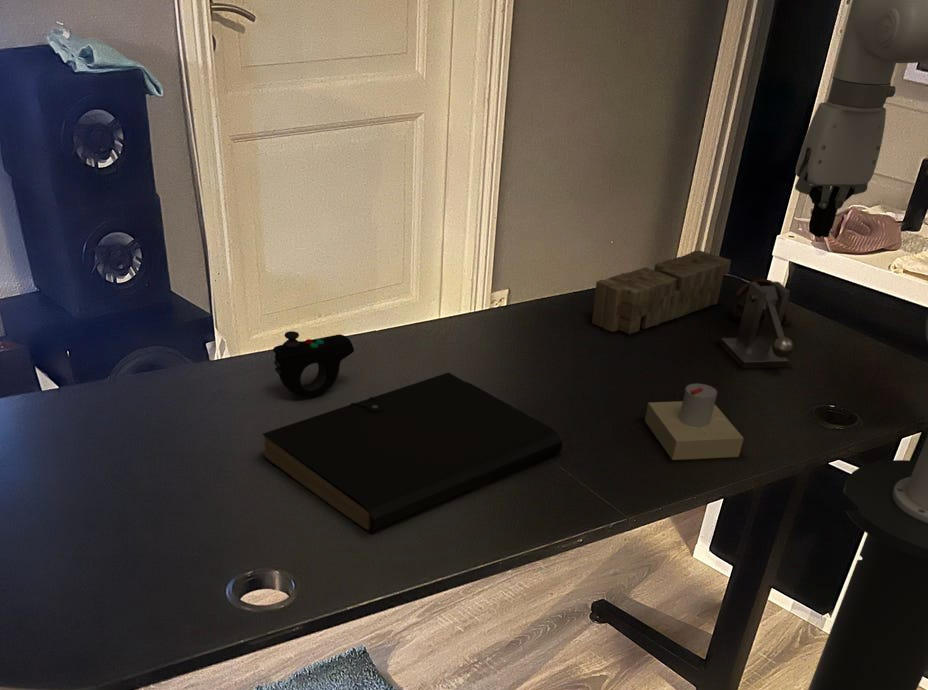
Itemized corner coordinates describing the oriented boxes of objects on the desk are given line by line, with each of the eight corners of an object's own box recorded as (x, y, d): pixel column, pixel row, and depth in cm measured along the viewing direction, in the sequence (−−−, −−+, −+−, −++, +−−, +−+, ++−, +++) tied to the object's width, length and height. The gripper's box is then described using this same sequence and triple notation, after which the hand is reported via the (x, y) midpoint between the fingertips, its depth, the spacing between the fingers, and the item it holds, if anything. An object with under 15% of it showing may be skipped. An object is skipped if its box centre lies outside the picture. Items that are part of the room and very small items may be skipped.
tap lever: (789, 361, 157) (798, 348, 154) (771, 362, 157) (780, 349, 154) (770, 297, 162) (778, 283, 159) (752, 297, 161) (760, 284, 158)
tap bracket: (786, 367, 163) (806, 297, 155) (742, 368, 161) (760, 298, 154) (762, 343, 170) (779, 275, 163) (719, 344, 169) (735, 276, 162)
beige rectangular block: (739, 457, 137) (744, 437, 135) (672, 460, 136) (676, 440, 134) (707, 418, 147) (711, 399, 145) (644, 420, 145) (648, 401, 143)
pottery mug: (794, 334, 176) (786, 297, 170) (741, 351, 179) (732, 316, 173) (783, 294, 183) (775, 257, 177) (732, 311, 186) (723, 276, 180)
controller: (272, 396, 146) (267, 331, 139) (344, 379, 151) (342, 317, 145) (285, 408, 143) (281, 342, 136) (358, 390, 148) (357, 326, 142)
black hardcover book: (447, 369, 146) (564, 432, 133) (446, 394, 149) (560, 459, 135) (261, 430, 128) (373, 510, 115) (263, 458, 131) (373, 539, 118)
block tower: (622, 342, 170) (724, 302, 185) (629, 294, 165) (733, 257, 179) (589, 327, 175) (691, 289, 189) (595, 280, 169) (699, 245, 184)
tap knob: (691, 409, 142) (698, 378, 139) (716, 420, 139) (724, 389, 136) (673, 417, 139) (679, 386, 136) (697, 429, 137) (704, 397, 134)
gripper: (892, 90, 136) (851, 226, 148) (794, 88, 134) (760, 227, 145) (921, 101, 130) (876, 242, 142) (819, 100, 128) (782, 243, 140)
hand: (818, 234), depth 144 cm, fingers closed
